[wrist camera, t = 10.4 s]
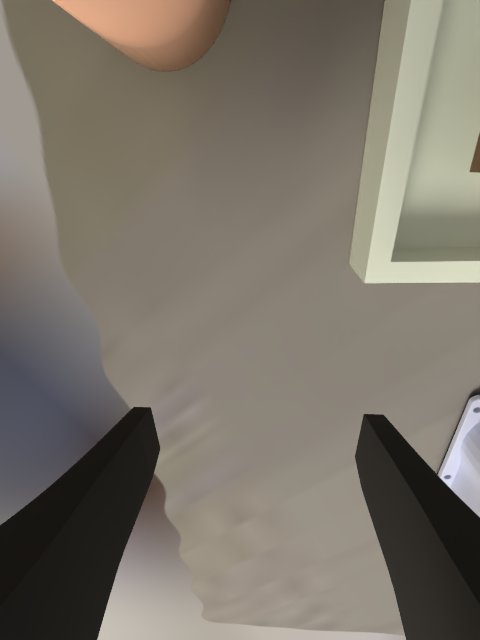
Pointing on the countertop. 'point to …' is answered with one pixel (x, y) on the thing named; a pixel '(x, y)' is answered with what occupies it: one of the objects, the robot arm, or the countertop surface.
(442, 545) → the robot arm
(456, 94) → the pale green tray
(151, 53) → the terracotta cup
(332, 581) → the countertop surface
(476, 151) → the walnut block
